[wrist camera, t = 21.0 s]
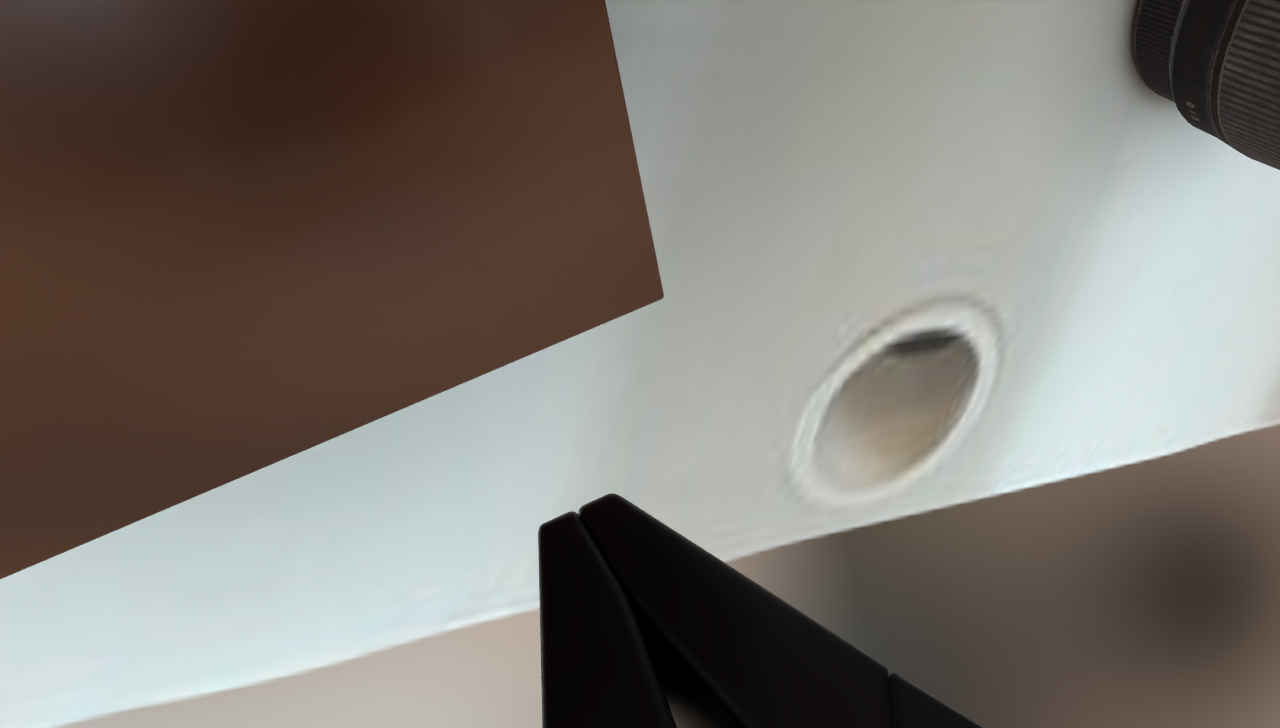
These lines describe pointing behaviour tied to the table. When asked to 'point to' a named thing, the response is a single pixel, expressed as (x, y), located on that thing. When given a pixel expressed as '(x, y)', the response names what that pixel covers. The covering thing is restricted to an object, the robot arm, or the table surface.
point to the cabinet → (285, 230)
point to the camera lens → (1216, 67)
